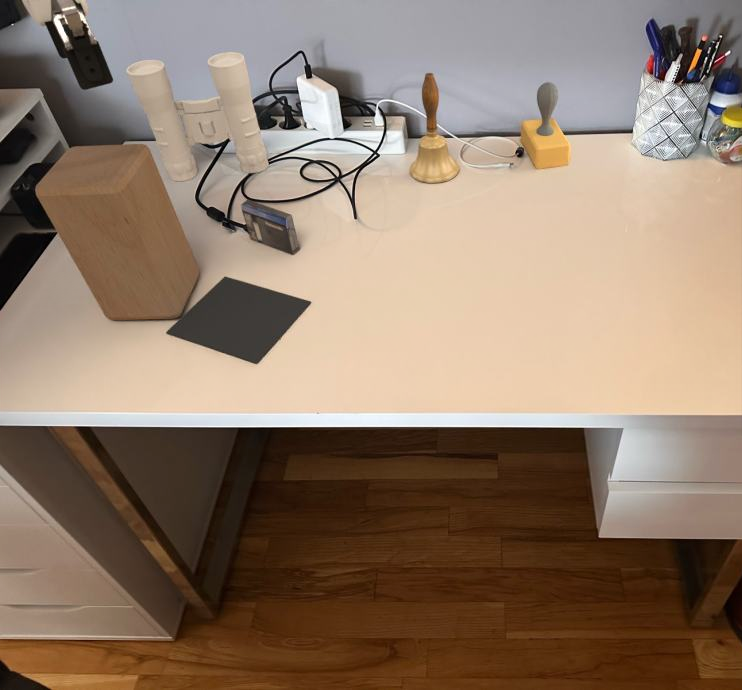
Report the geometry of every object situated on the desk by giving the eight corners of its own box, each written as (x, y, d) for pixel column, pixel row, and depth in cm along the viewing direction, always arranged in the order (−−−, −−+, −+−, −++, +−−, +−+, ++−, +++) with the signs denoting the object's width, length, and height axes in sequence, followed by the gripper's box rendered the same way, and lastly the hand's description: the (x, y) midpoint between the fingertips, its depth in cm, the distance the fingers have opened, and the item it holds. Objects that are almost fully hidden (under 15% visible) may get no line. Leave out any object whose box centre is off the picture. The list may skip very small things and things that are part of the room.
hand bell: (409, 159, 114) (400, 65, 103) (458, 156, 114) (454, 62, 103) (409, 185, 108) (400, 88, 97) (460, 182, 108) (457, 85, 97)
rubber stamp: (520, 140, 117) (522, 72, 109) (552, 136, 118) (557, 68, 110) (535, 169, 111) (539, 99, 102) (569, 164, 111) (576, 94, 103)
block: (181, 321, 86) (117, 185, 72) (105, 323, 87) (27, 188, 73) (203, 272, 93) (149, 140, 79) (133, 274, 94) (67, 143, 80)
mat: (257, 364, 81) (256, 362, 81) (166, 333, 85) (165, 332, 85) (311, 302, 89) (310, 301, 88) (225, 277, 93) (224, 276, 93)
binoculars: (271, 156, 116) (245, 50, 103) (270, 172, 112) (243, 64, 100) (169, 167, 114) (129, 61, 102) (165, 184, 110) (123, 76, 98)
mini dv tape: (250, 239, 99) (239, 204, 95) (257, 233, 100) (247, 199, 96) (293, 255, 96) (284, 220, 92) (300, 249, 97) (291, 214, 93)
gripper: (-55, -134, 63) (33, 52, 75) (-31, -100, 52) (66, 109, 64) (31, -145, 65) (102, 36, 78) (70, -115, 55) (145, 88, 67)
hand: (86, 69), depth 71 cm, fingers open, 9 cm apart
